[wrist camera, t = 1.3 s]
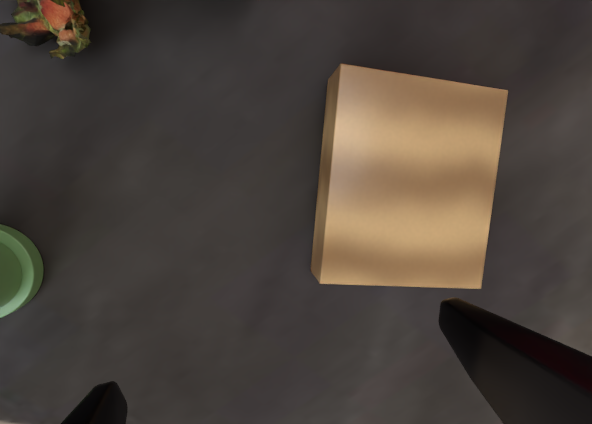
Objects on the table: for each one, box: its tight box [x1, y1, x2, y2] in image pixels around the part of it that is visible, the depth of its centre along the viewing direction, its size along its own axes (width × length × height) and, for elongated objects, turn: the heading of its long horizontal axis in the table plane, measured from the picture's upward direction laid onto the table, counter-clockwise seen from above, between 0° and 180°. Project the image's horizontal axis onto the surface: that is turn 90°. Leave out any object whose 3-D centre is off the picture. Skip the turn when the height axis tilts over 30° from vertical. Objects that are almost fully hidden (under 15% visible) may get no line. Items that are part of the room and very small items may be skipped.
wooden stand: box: [311, 64, 508, 289], centre depth 22 cm, size 14×12×3 cm
